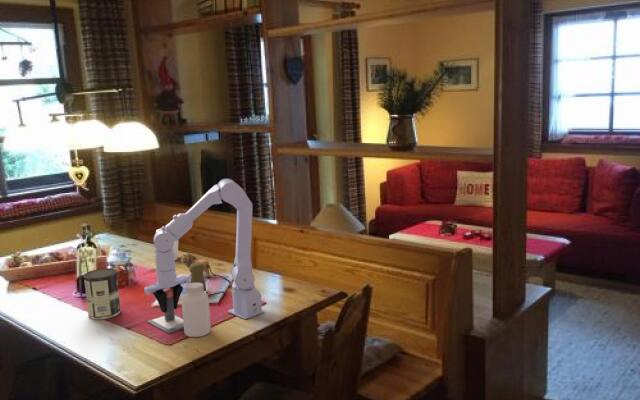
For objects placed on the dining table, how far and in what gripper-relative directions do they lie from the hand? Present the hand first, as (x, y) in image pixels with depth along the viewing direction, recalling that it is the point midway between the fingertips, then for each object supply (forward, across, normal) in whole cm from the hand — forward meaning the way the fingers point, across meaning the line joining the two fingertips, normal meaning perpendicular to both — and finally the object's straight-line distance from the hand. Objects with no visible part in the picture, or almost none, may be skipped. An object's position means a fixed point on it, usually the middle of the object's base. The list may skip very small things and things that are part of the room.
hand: (169, 309), depth 181 cm
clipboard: (+4, 0, +1) cm, 4 cm away
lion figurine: (+4, -31, -32) cm, 45 cm away
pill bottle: (+4, -2, +13) cm, 14 cm away
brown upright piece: (+4, -21, -16) cm, 27 cm away
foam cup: (+4, -36, -61) cm, 71 cm away
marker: (+3, 0, 0) cm, 3 cm away
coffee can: (+4, +11, -23) cm, 26 cm away
